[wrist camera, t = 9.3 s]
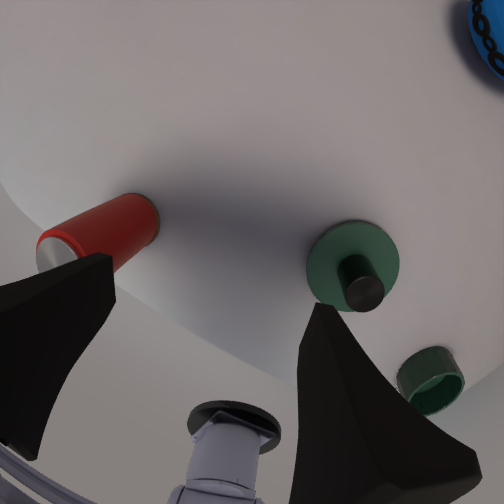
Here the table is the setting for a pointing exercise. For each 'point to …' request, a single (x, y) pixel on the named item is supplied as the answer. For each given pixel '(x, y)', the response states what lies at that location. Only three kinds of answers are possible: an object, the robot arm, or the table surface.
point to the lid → (353, 267)
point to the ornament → (488, 32)
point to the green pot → (430, 380)
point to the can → (99, 233)
